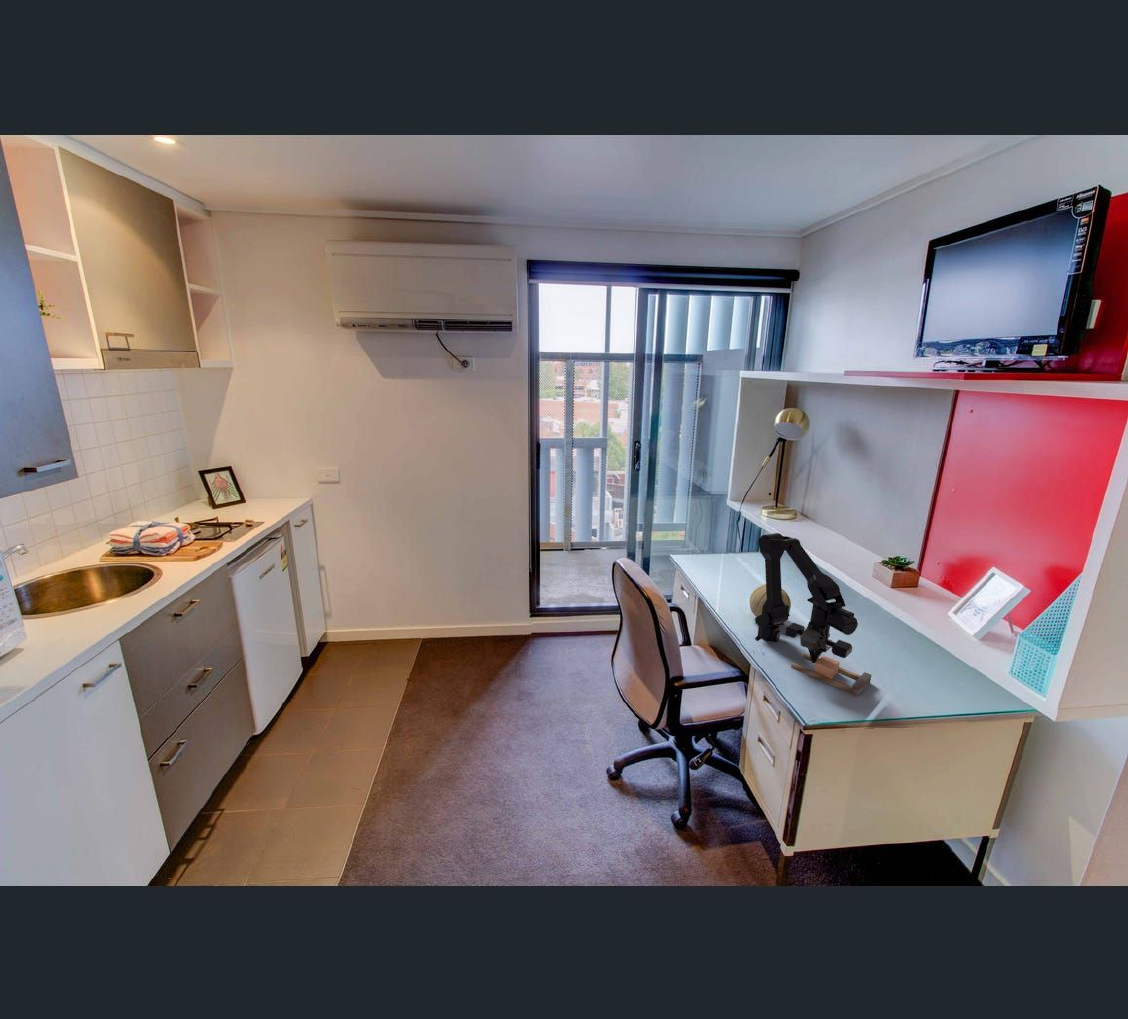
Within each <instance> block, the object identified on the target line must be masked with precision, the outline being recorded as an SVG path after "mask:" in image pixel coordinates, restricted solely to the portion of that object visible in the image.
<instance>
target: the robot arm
mask: <svg viewBox="0 0 1128 1019" xmlns="http://www.w3.org/2000/svg"><path fill="white" fill-rule="evenodd" d="M758 548H759V553H760V554H761V555H762V557H763V559H764V565H765V566H764V570H765V584H766V594H767V599H766V601H765V603H764V605H763V607H762V614H761V615H759V616H757V617H756V616H755V617H754V620H755V624H756V625H757V626H758V630H757V635H756V636H755V637H754V639H755V640H756V641H760V640H763V641H766V642H772V643H778V642H779V641H780V638H781V630H780V629H781V626H784V624H785V623H786V622H787V621H788V620H789V617H790V612H789V606H788V605H785V603H784V602H783V600H782V589H783V588H782V569H781V559H782V557H783V554H784V553H785V552H786V554H787V555H788V556H789V557H790V559H791V560H792V561H793V563H794V564H795V566H796V568H798V570H799V571H800V573H801V574H802V575H803V577H804V579H805V580H806V583H807V589H808V591H809V593H810V594H811V597H809V598H807V599H806V601H807V602H809V603H810V604H812V607H811V615H810V620H809V622H808V624H807V627H806V628H805V626H804V625H802V624H798V623H796V622H792V623H791V624H789V625H788V626H786V627H785V629H784V635H785V636H786V637H789V638H792V639H795V638H797V637H798V636H799V638H800V646H801V647H802V648H806V649H808V654H809V655H810V657H811V660H810V661H811V663H812V664H814V665H815V662H816V661H817V660H818V658H819V659H820V658H821V657H822V654H823V653H827V651H829V650H831V653H832V654H833V655H834V656H837V657H839V658H841V659H847V657H848V656H849V655H850V654H851V653H852V652H853V645H852V644H851V643H849V642H847V641H844V640H842V639H838V640H837V641H836V642H835V641H833V640H832V639H829V638H830V637H831V636H830V635H831V633H830V630H831V627H832V628H833V629H835V630H837V631H839V632H840V633H841V634H844V635H846V636H851V635H852V634H853V633H854V632H856V630H857V628H858V624H859V622H858V619H857V618H856V617H855V612H852V611H850V610H847V609H845V607H846V602H845V600H844V597H843V594H842V593H841V589H840V587H839V585H838V583H837V582H836V581H835V580H834V579H833V578H832V577H830V576H829V575H828V574H825V573H823V572H822V571H821V569H820V568H819V567H818V565H817V564H816V563H815V562H814V561H813V560H812V558H811V556H810V555H809V554H808V553H807V551H806V550H805V548H804V547H803V546H802V545H801V541H800V540H799V539H797V538H793V537H790V536H787V535H786V536H785V535H783V534H781V533H779V532H774V533H769V534H768V533H767V534H762V535H761V536H760V537H758ZM832 600H834V601H832ZM829 601H830V602H829Z"/></svg>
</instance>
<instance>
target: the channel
mask: <svg viewBox="0 0 1128 1019" xmlns="http://www.w3.org/2000/svg"><path fill="white" fill-rule="evenodd" d="M802 657H803V658H804V659H807V660H809V661H811V657H810V653H807V652H804V653H803V654H802ZM819 659H820V657H819V658H818V660H819ZM790 667H791V669H792V668H793V669H795V670H796V671H798V672H802V673H803V674H806V675H808V676H809V677H813V678H815V679H817V680H819V681H822V682H824V683H826V684H829V685H830V686H833V687H834V688H835V687H836V688H837V689H839V690H842V691H844V692H847V693H849V694H851V695H853V696H856V697H859V696H860V695H861V694H862V693H863V691H865V690H866V688H867V687H868V686H870V684H871V680H872V674H871V673H868V672H865V671H864V672H862V674H861V675H859V674H857V673H855V672H852V671H850V670H847V669H846V668H843V667H841V666H839V669H838V673H840V674H842V675H845V676H847V677H850V678H852V679H854V680H856V681H855V682H854V683H852V685H851V687H850V686H847V685H845V684H843V683H842V682H839V681H836V680H834V679H833V678H832V679H830V678H827V677H825V676H823V675H821V674H818V673H816V672H814V670H811V669H809V668H806V667H804V666H802V665H800V664H797V663H796V662H791V664H790Z"/></svg>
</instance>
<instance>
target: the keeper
mask: <svg viewBox="0 0 1128 1019" xmlns="http://www.w3.org/2000/svg"><path fill="white" fill-rule="evenodd" d="M840 663H841V662H840V661H838V660H837V659H833V658H831V657H828V656H826V655H821V656H820V657H819V660H817V661H816V662H815V664H814V669H813V671H814V672H816V673H818V674H821V675H823V676H825V677H827V678H830V679H832V680H833V678H835V676H836V675H837V674H838V673H839V672H838V669H839V667H840Z"/></svg>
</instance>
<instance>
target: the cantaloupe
mask: <svg viewBox="0 0 1128 1019" xmlns="http://www.w3.org/2000/svg"><path fill="white" fill-rule="evenodd" d="M766 599H767V594H766V583H764V584H760V585H759V586H757V587H756V588H755V589H753V591H752V593H751V594H750V597H749V608H750V611H751V613H752V614H753V615H754V616H755V617H757V616H759V615H761V614H762V607H763V605H764V603H765V601H766ZM782 600H783V602H784V603H785V605H788V606H789V613H790V612H791V607H792V600H791V599H790V596H789V594H788V592H786V591H785V589H783V588H782Z"/></svg>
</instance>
